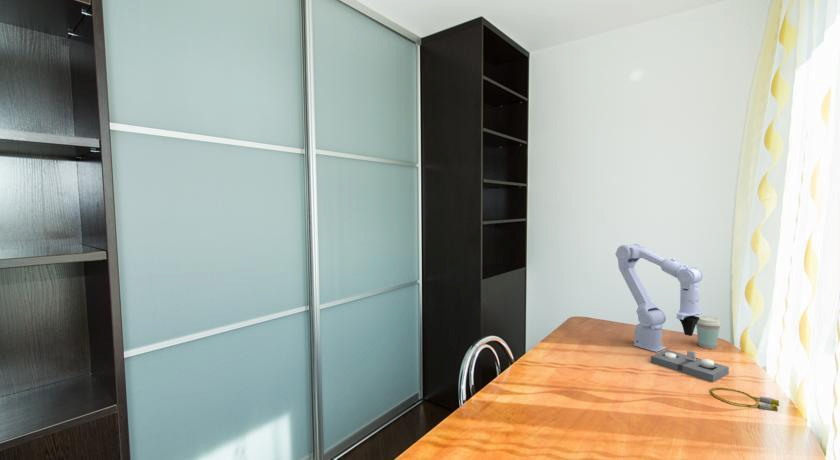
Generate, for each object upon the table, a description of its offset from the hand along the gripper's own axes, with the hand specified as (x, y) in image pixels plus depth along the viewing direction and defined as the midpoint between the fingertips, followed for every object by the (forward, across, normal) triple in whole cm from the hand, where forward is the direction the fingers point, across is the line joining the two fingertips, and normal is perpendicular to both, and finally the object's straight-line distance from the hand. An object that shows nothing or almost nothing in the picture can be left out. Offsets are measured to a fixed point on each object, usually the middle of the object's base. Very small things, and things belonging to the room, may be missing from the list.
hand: (688, 335), depth 147 cm
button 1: (+8, -9, +2) cm, 12 cm away
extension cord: (+10, -21, -24) cm, 34 cm away
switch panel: (+9, -9, -4) cm, 14 cm away
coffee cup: (+10, +21, +2) cm, 23 cm away
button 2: (+7, -9, -10) cm, 15 cm away
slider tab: (+7, -7, -4) cm, 10 cm away
